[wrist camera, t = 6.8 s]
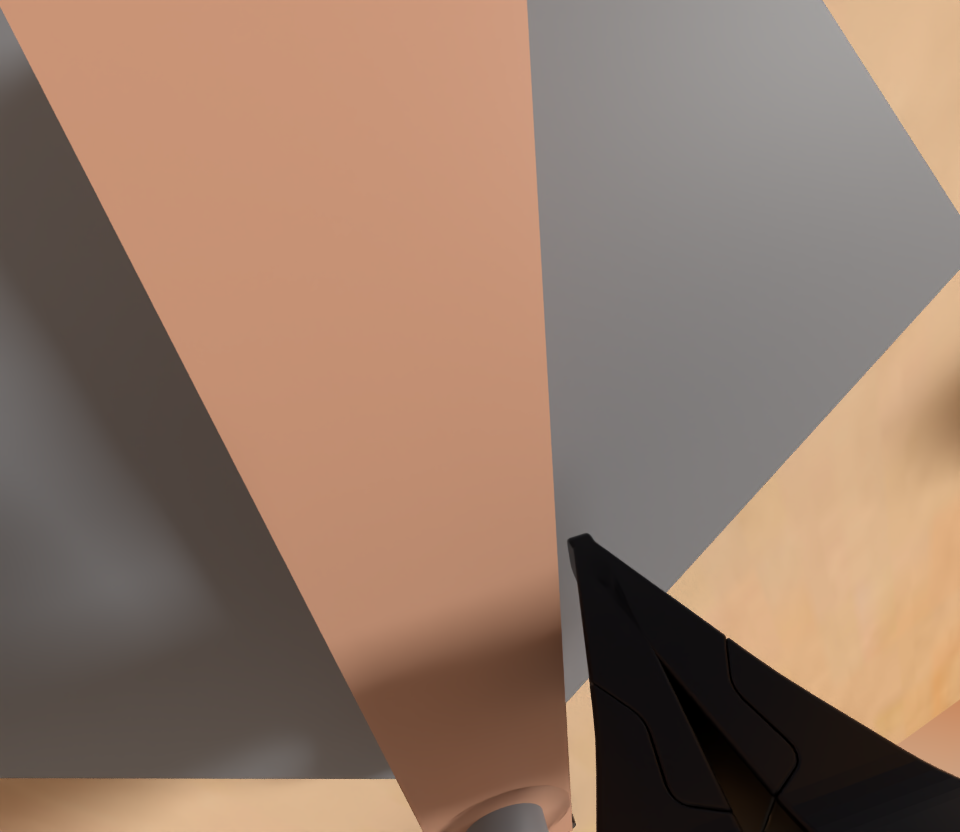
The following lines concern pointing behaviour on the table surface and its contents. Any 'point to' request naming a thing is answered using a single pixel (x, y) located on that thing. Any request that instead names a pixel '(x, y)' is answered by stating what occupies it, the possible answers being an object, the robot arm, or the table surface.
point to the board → (570, 367)
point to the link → (357, 338)
